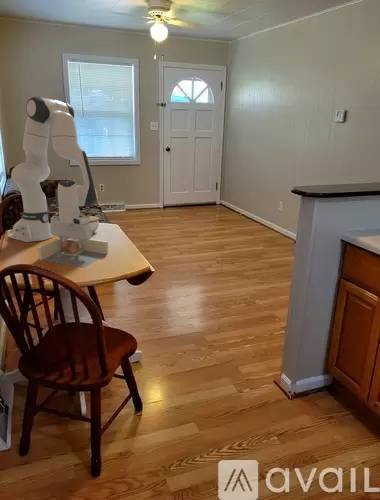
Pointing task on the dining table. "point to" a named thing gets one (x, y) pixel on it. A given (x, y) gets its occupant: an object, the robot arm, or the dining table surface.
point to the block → (71, 246)
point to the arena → (86, 256)
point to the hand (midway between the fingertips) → (71, 246)
